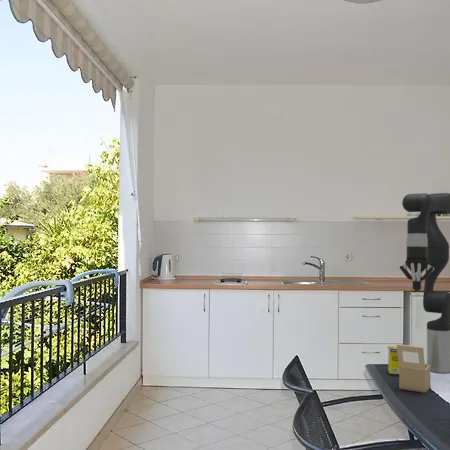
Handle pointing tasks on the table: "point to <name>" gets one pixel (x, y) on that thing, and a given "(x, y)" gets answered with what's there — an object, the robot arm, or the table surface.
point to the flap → (411, 356)
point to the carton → (414, 379)
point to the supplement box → (393, 361)
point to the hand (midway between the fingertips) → (416, 290)
